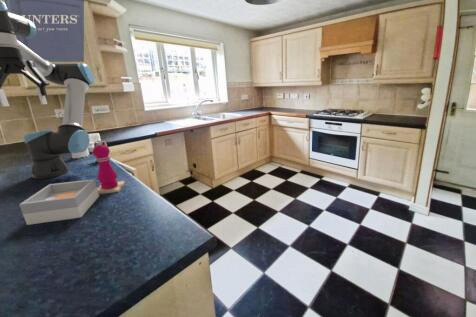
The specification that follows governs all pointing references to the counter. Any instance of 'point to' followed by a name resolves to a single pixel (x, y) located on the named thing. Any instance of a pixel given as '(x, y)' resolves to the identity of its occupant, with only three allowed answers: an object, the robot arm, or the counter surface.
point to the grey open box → (60, 202)
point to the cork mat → (111, 190)
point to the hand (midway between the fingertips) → (25, 105)
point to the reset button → (65, 195)
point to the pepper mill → (105, 167)
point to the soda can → (101, 142)
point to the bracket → (93, 138)
